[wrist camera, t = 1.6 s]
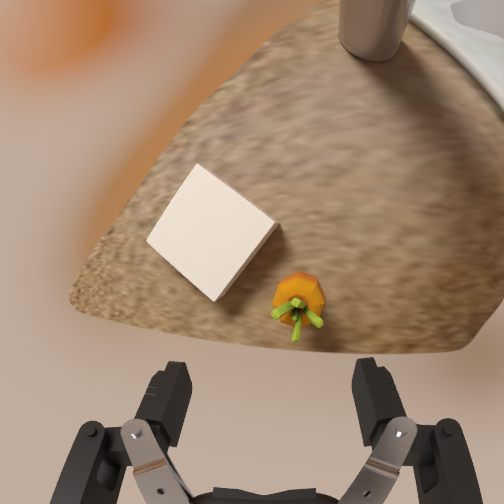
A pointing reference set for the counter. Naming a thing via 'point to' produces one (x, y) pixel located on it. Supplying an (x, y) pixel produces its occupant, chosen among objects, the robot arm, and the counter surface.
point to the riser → (210, 232)
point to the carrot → (299, 302)
